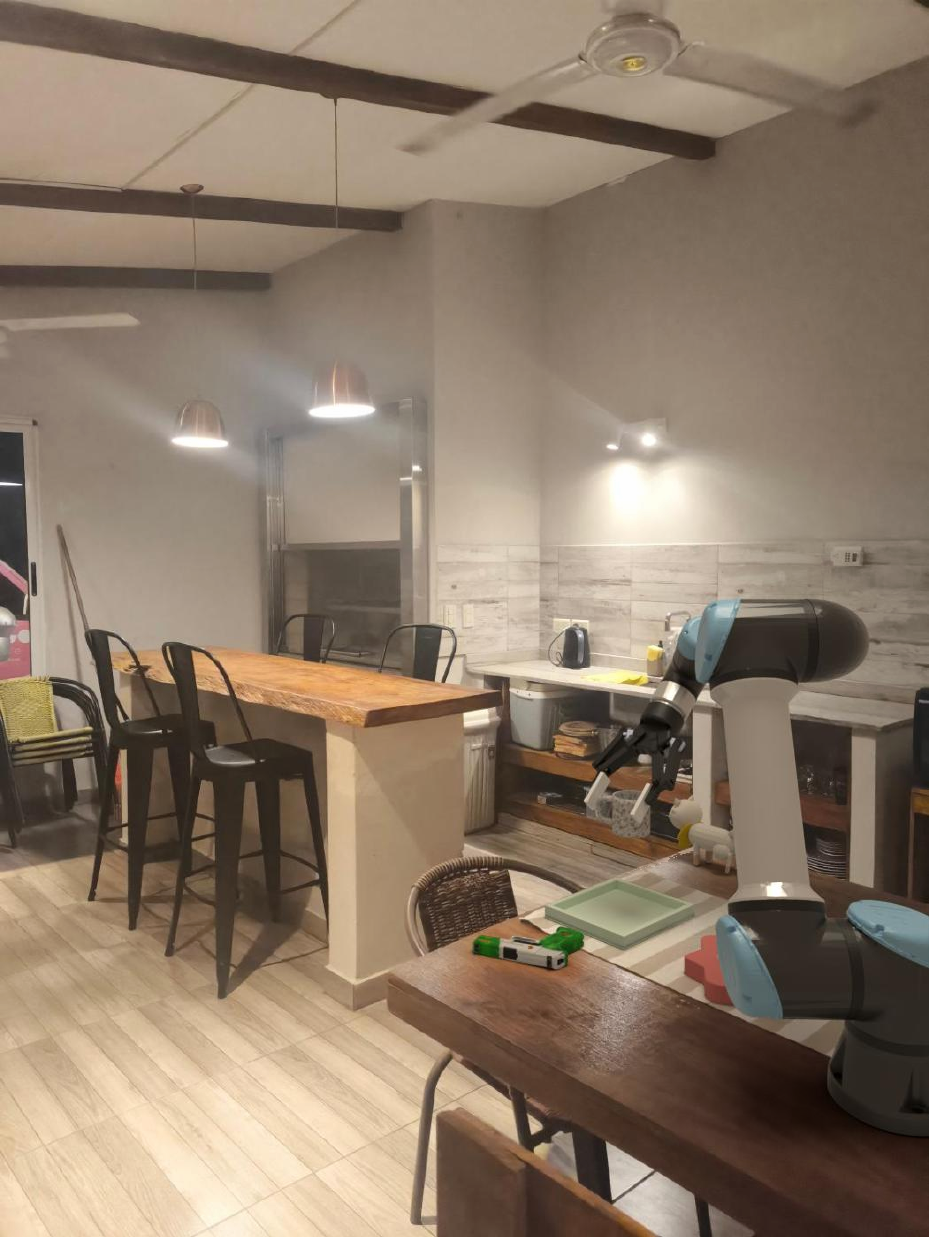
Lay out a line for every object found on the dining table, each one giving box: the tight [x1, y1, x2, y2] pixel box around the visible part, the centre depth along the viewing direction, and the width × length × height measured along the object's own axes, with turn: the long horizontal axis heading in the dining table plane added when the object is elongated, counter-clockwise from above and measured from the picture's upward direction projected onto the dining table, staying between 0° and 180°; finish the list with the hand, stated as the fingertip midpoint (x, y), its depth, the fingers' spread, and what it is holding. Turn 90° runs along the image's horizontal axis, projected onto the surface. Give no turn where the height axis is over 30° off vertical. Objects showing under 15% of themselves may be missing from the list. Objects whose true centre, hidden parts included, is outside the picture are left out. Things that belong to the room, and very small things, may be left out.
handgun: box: [472, 925, 585, 970], centre depth 156 cm, size 3×16×12 cm
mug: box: [596, 789, 651, 839], centre depth 167 cm, size 10×7×7 cm
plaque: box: [683, 934, 734, 1006], centre depth 146 cm, size 18×4×15 cm
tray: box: [544, 877, 695, 951], centre depth 169 cm, size 20×18×2 cm
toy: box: [668, 794, 737, 875], centre depth 193 cm, size 9×19×15 cm, turn 40°
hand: (611, 812), depth 165 cm, fingers closed on mug, 10 cm apart
